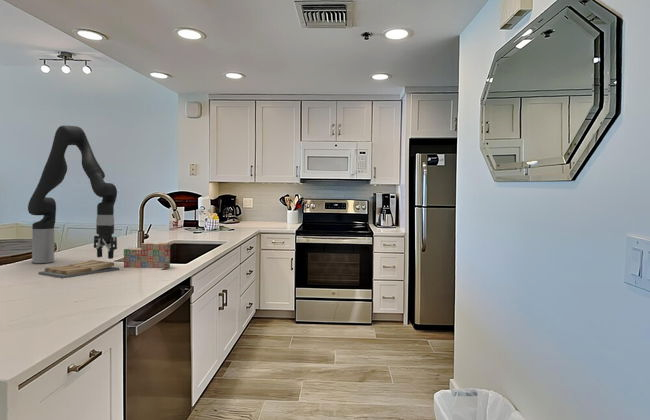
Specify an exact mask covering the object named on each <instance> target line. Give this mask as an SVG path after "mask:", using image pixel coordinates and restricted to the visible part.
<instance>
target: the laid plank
mask: <svg viewBox="0 0 650 420" xmlns="http://www.w3.org/2000/svg"><path fill="white" fill-rule="evenodd" d="M44 271H46V272H52V273H59V274H65V275H71V274H78V273H85V272H91V268H85V267H77V266H70V264H68V265H67V264H66V265H59V266H58V265H57V266H52V267H51V266H50V267H45V268H44Z"/></svg>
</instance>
